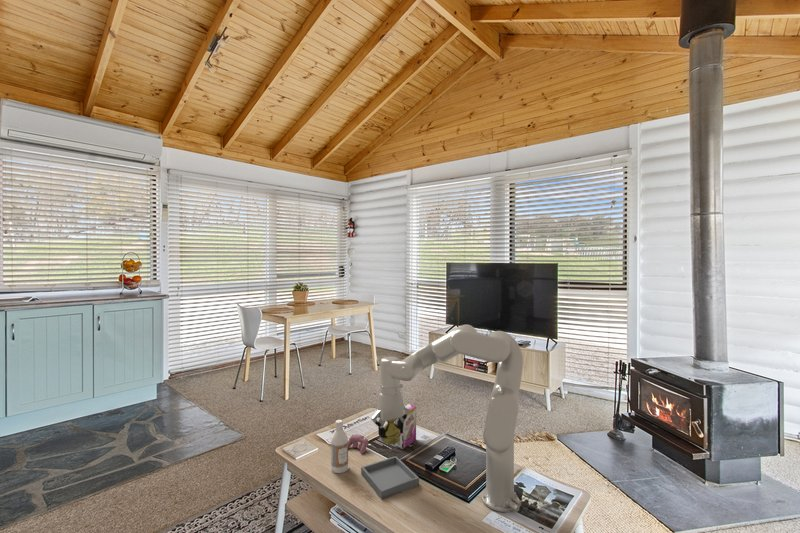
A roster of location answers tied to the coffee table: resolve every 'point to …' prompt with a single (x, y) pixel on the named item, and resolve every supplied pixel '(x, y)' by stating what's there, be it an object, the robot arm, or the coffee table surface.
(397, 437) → the salt shaker
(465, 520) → the coffee table surface
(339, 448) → the bath foam
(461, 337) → the robot arm
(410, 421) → the candy bar box
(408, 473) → the tray
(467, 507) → the coffee table surface
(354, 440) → the pink lumpy piece
